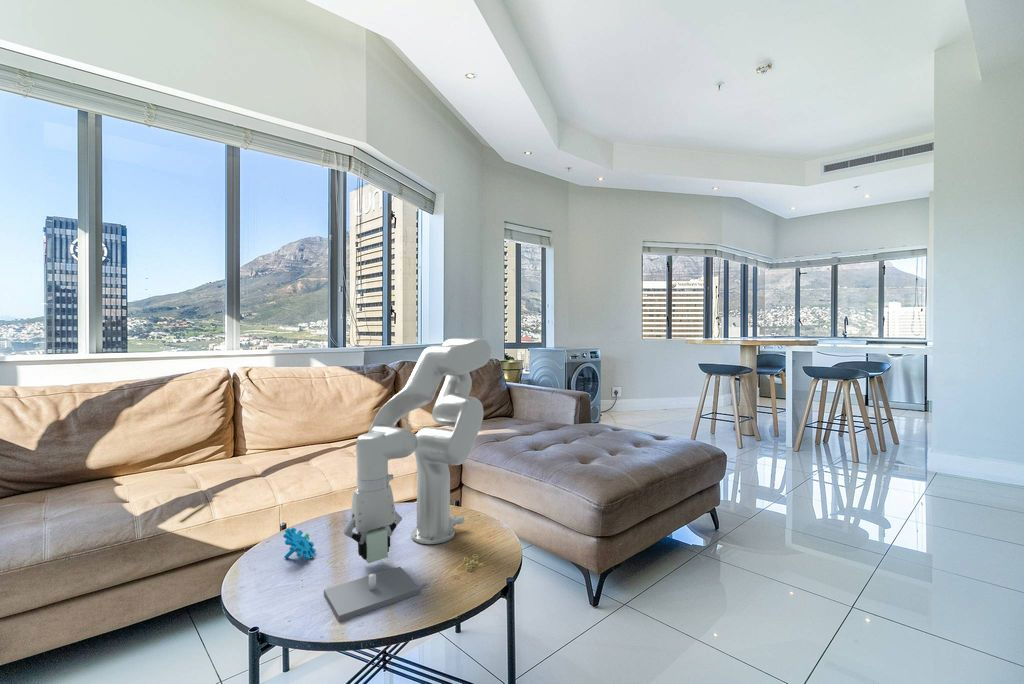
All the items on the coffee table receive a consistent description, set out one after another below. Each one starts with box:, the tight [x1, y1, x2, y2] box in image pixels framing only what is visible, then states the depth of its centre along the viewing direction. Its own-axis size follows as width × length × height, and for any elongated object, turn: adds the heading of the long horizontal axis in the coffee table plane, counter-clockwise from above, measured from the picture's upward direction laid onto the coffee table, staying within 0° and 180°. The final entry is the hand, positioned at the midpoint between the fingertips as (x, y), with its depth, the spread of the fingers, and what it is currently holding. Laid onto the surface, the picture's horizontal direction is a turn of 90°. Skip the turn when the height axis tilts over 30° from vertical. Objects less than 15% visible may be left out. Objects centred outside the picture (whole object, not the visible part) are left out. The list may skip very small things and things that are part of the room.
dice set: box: [463, 553, 484, 572], centre depth 118 cm, size 5×5×2 cm
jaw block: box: [365, 527, 389, 564], centre depth 117 cm, size 5×5×7 cm
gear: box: [283, 527, 317, 561], centre depth 121 cm, size 11×6×10 cm
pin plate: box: [323, 566, 422, 622], centre depth 104 cm, size 18×12×4 cm, turn 126°
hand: (374, 553), depth 117 cm, fingers closed on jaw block, 5 cm apart
